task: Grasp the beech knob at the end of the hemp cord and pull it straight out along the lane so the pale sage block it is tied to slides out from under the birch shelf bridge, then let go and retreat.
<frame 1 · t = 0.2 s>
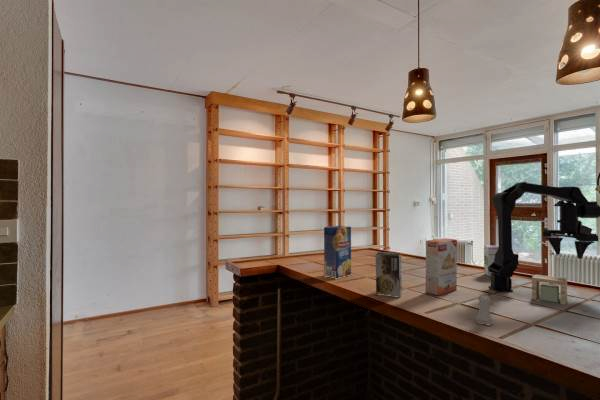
hand: (568, 256, 129), 14 cm above the counter, fingers open, 9 cm apart
shelf lane: (549, 298, 118), on the counter
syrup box: (492, 276, 155), on the counter
blue food box: (337, 276, 156), on the counter
rook chess piece: (484, 323, 95), on the counter
coffee box: (388, 295, 125), on the counter
cracker box: (441, 292, 128), on the counter
tethered block: (549, 299, 118), on the counter
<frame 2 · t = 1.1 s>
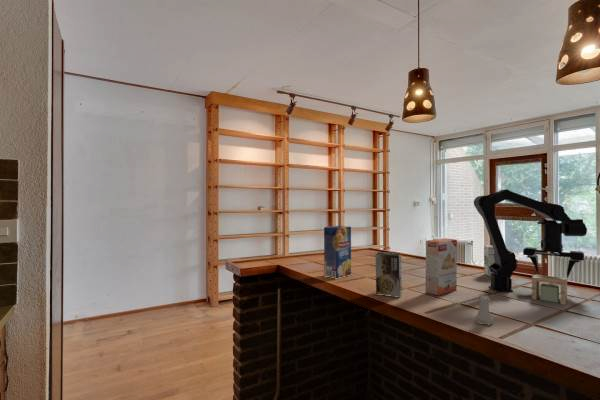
hand: (552, 275, 127), 7 cm above the counter, fingers open, 9 cm apart
nothing on the counter moved.
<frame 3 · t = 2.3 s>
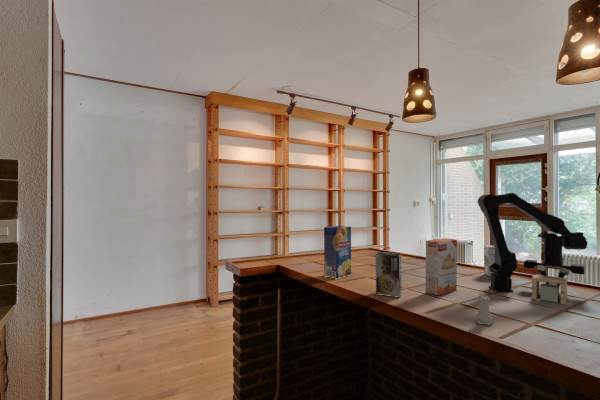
hand: (553, 288, 127), 2 cm above the counter, fingers closed on tethered block, 3 cm apart
tethered block: (549, 299, 118), on the counter, touching gripper
everything else where it was.
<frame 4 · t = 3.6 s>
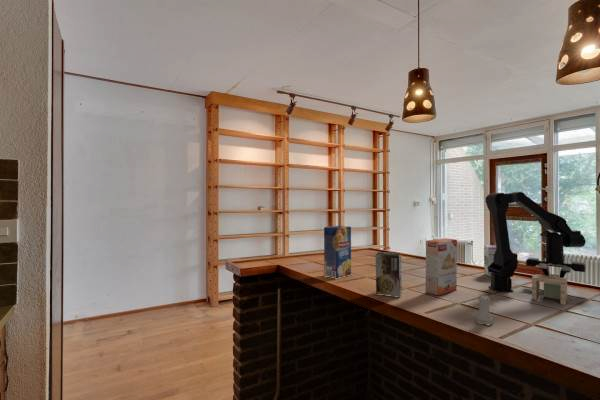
hand: (554, 285, 131), 2 cm above the counter, fingers closed on tethered block, 3 cm apart
tethered block: (552, 296, 121), on the counter, touching gripper
everything else where it was.
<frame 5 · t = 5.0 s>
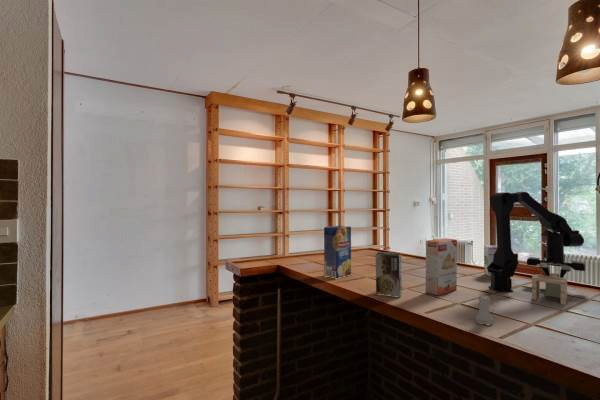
hand: (555, 284, 133), 2 cm above the counter, fingers closed on tethered block, 3 cm apart
tethered block: (554, 295, 123), on the counter, touching gripper
everything else where it was.
when the fingers open (2 cm above the counter, at t = 5.2 s): tethered block stays where it is, on the counter.
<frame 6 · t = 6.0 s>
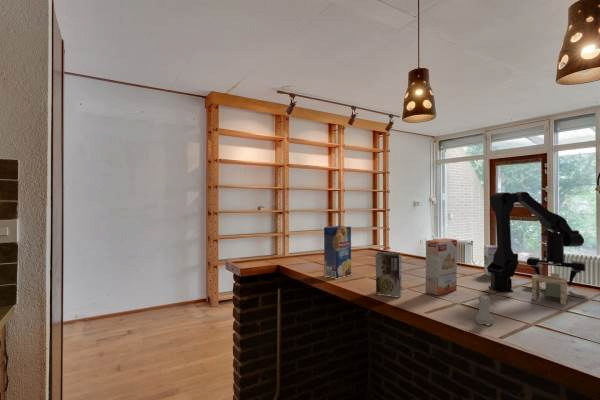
hand: (555, 284, 133), 2 cm above the counter, fingers open, 9 cm apart
tethered block: (554, 295, 123), on the counter
everything else where it was.
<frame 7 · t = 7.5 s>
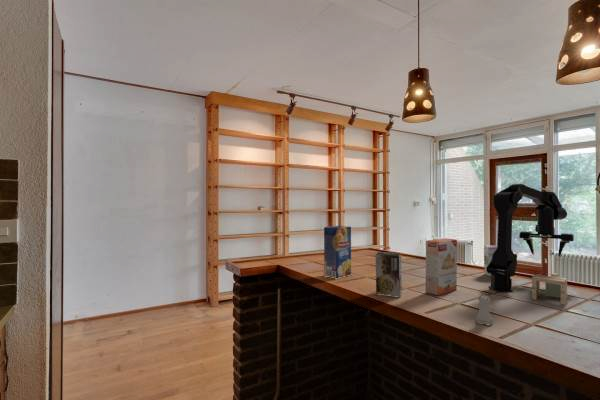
hand: (545, 255, 141), 12 cm above the counter, fingers open, 9 cm apart
nothing on the counter moved.
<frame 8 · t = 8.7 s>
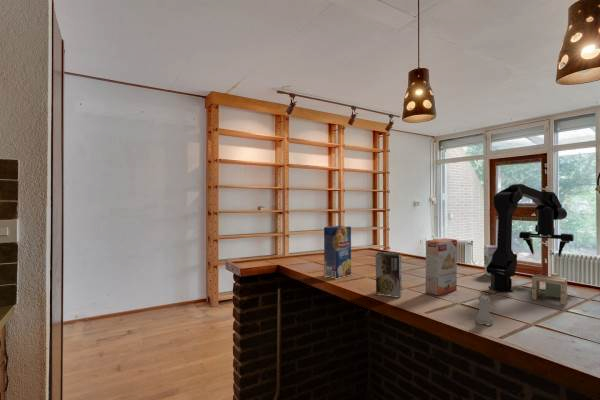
hand: (545, 255, 141), 12 cm above the counter, fingers open, 9 cm apart
nothing on the counter moved.
at the end: tethered block inside the target area (1.0 cm from its centre), on the counter; tethered block moved 7.6 cm from its start; the gripper is holding nothing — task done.
